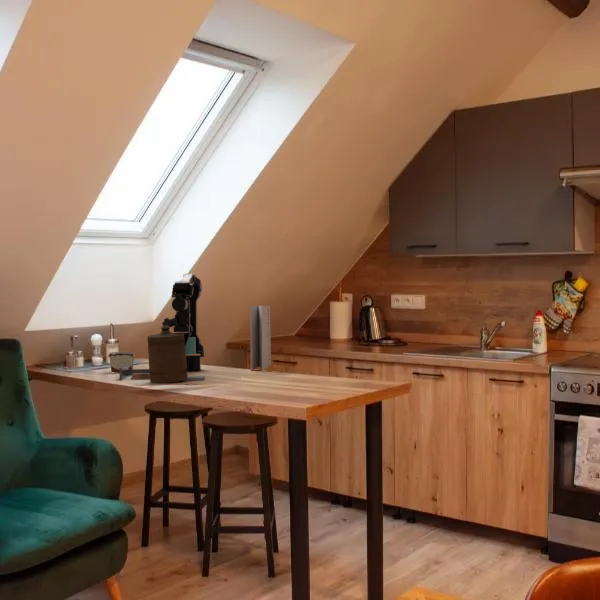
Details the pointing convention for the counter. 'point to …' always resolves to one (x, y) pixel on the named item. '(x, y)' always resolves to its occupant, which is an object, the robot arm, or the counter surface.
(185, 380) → the mat
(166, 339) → the wooden container
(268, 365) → the grey tall angular piece
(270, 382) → the counter surface
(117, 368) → the food container
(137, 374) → the offcut top
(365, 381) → the counter surface
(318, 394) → the counter surface
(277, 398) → the counter surface
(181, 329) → the robot arm
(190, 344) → the block
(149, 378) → the board
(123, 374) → the rack
